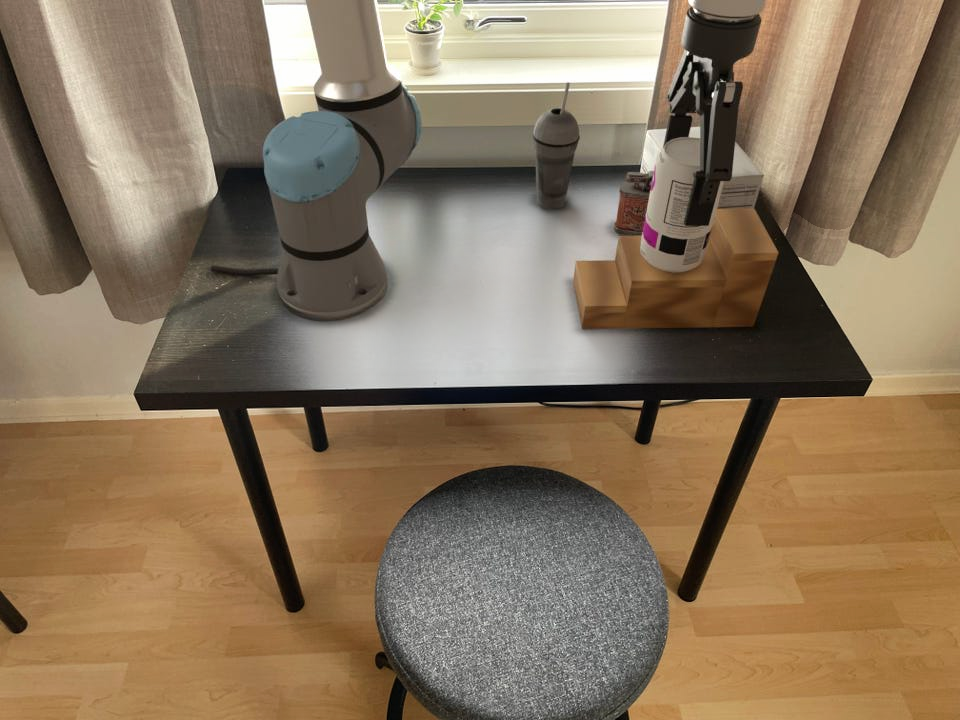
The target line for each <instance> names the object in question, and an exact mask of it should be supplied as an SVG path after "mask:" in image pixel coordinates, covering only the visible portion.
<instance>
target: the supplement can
mask: <svg viewBox="0 0 960 720" xmlns="http://www.w3.org/2000/svg"><path fill="white" fill-rule="evenodd" d="M696 171H700V138H694V137H680V138H676V139H672V140H670V141H669V142H667V143H666V144H665V146H664V148H663V149H662V151H661V152H660V153H659V155H658V156H657V158H656V163H655V168H654V174H653V179H652V184H651V190H650V195H649V201H648V206H647V212H646V217H645V222H644V228H643V233H642V239H641V244H640V252H641V255H642V256H643V257H644V259H645V260H646V261H647V262H648V263H649V264H650V265H652V266H653V267H655V268H657V269H660V270H662V271H666V272H673V273H677V272H685V271H689V270H691V269H693V268H696V267H697V266H698V265H700V264H701V263H702V261H703V259H704V256H705V252H706V248H707V245H708V241H709V237H710V233H711V229H712V225H713V221H714V218H715V214H716V210H717V206H718V202H719V198H720V194H721V191H722V187H723V183H724V181H720V185H719V189H718V193H717V196H716V200H715V204H714V207H713V211H712V215H711V219H710V222H709V226H685V224H684V219H685V215H686V211H687V207H688V203H689V199H690V194H691V190H692V186H693V182H694V177H693V173H694V172H696Z"/></svg>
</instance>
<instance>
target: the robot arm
mask: <svg viewBox="0 0 960 720" xmlns="http://www.w3.org/2000/svg"><path fill="white" fill-rule="evenodd" d="M688 3H689V5H690V7H689V8H688V9H687V10H686V13H685V19H684V24H683V28H682V34H681V39H680V43H681V46H682V48H683V49H684V50H683V53H682V55H681V58H680V61H679V64H678V66H677V69H676V71H675V73H674V76H673V79H672V81H671V84H670V86H669V89H668V92H667V94H666V100H667V102H668V103H670V104H669V105H668V106H669V107H668V111H669V114H671V115H669V116H668V120H667V125H666V129H667V130H666V135H665V140H664V145H663V148H664V146H665V144H666V143H667V142H669V141H670V140H672V139H676V138H680V137H689V133H690V128H691V127H692V123H693V119H694V118H693V116H692V115H687V114H697V115H699V117H700V119H699V120H700V121H699V122H700V123H699V124H700V125H699V127H700V171H696V172H694V173H693V177H694V182H693V186H692V190H691V194H690V199H689V203H688V207H687V211H686V215H685V219H684V224H685V226H709V222H710V219H711V215H712V211H713V207H714V204H715V200H716V196H717V193H718V189H719V185H720V181H730V180H731V178H732V170H733V159H734V149H735V142H736V138H737V127H738V119H739V118H738V117H739V110H740V109H739V108H740V102H741V98H742V93H743V89H744V84H743V81H742V80H741V81H735V72H734V65H735V64H736V63H737V62H738V61H740V60H742V59H745V58H747V57H749V56H750V55H751V54H753V52H754V50H755V47H756V43H757V39H758V36H759V32H760V28H761V24H762V17H761V15H760V14H762V12H764V10H765V8H766V5H767V4H766V3H767V0H688ZM305 4H306V9H307V13H308V17H309V22H310V27H311V31H312V34H313V39H314V45H315V49H316V53H317V57H318V62H319V67H320V72H321V74H320V76H319V77H318V79H317V80H316V82H315V83H314V85H313V91H314V97H315V101H316V106H317V110H313V111H305V112H302V113H300V116H294V115H292V116H290V117H288V118H286V119H284V120H282V121H280V122H279V123H278V124H276V125H275V126H274V127H273V128H272V129H271V131H270V132H269V133H268V134H267V136H266V137H265V140H264V142H263V147H262V159H263V172H264V174H263V175H264V177H265V182H266V184H267V186H268V191H269V196H270V200H271V203H272V208H273V212H274V217H275V221H276V226H277V230H278V235H279V238H280V244H281V250H280V255H279V262H278V267H277V268H276V267H275V268H254V269H242V268H232V267H226V266H219V265H211V266H210V271H211V272H214V273H220V274H227V275H228V274H229V275H234V276H263V275H264V276H266V275H267V276H269V275H276V290H277V293H278V297H279V300H280V302H281V304H282V305H283V306H284V308H285V309H286V310H288V311H289V312H291V313H292V314H294V315H296V316H298V317H301V318H304V319H307V320H313V321H339V320H344V319H349V318H352V317H355V316H357V315H360V314H363V313H365V312H366V311H369V310H370V309H371V308H373V307H375V306H376V305H377V304H378V303H379V302H380V301H381V300H382V298H383V297H384V296H385V294H386V292H387V289H388V285H389V282H388V272H387V269H386V265H385V263H384V260H383V258H382V256H381V254H380V253H379V251H378V249H377V246H376V245H375V243H374V241H373V239H372V238H371V236H370V230H369V222H368V215H367V214H368V213H367V202H368V200H369V198H370V197H371V196H372V195H373V194H374V193H375V192H376V191H377V190H378V189H379V188H380V187H381V186H382V185H383V184H384V183H385V182H386V181H387V180H388V179H389V178H390V177H391V176H392V175H393V174H394V173H395V172H396V171H397V170H398V169H399V168H400V167H402V166H403V165H404V164H405V162H406V161H408V159H409V158H410V157H411V155H412V153H413V151H414V150H415V149H416V147H417V145H418V144H419V141H420V138H421V136H422V135H421V134H422V128H423V122H422V121H423V120H422V115H421V110H420V109H421V108H420V106H419V104H418V102H417V100H416V97H415V96H414V94H411V93H409V92H408V88H407V86H406V85H404V84H403V83H402V77H401V74H400V72H399V71H398V70H396V68H394V67H393V66H392V65H390V64H388V61H387V56H386V55H387V54H386V49H385V43H384V37H383V31H382V25H381V18H380V13H379V7H378V1H377V0H305Z"/></svg>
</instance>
